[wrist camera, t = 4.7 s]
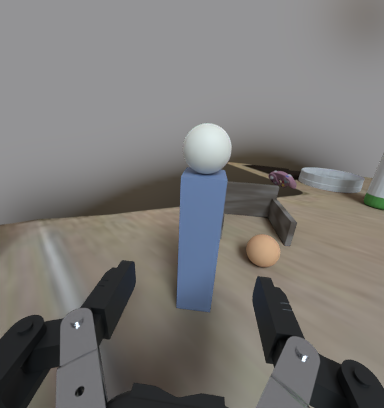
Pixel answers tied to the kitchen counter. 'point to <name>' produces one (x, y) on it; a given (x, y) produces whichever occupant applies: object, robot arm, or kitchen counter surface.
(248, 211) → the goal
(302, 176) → the dish
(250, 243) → the ball
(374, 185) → the wine bottle
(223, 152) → the figure
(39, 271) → the kitchen counter surface
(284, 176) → the video game controller
